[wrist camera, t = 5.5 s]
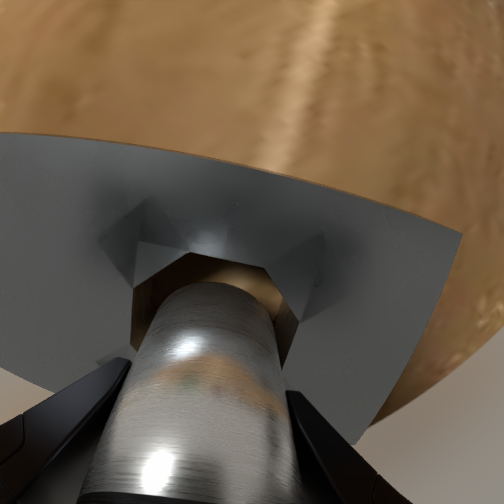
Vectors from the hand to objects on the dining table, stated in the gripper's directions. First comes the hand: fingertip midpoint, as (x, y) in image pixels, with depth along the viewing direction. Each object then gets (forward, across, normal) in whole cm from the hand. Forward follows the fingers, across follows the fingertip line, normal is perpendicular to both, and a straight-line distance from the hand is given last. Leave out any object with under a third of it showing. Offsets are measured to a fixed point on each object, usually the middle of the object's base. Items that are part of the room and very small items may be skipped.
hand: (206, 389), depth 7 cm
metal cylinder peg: (+2, 0, 0) cm, 2 cm away
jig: (+6, +2, 0) cm, 6 cm away
